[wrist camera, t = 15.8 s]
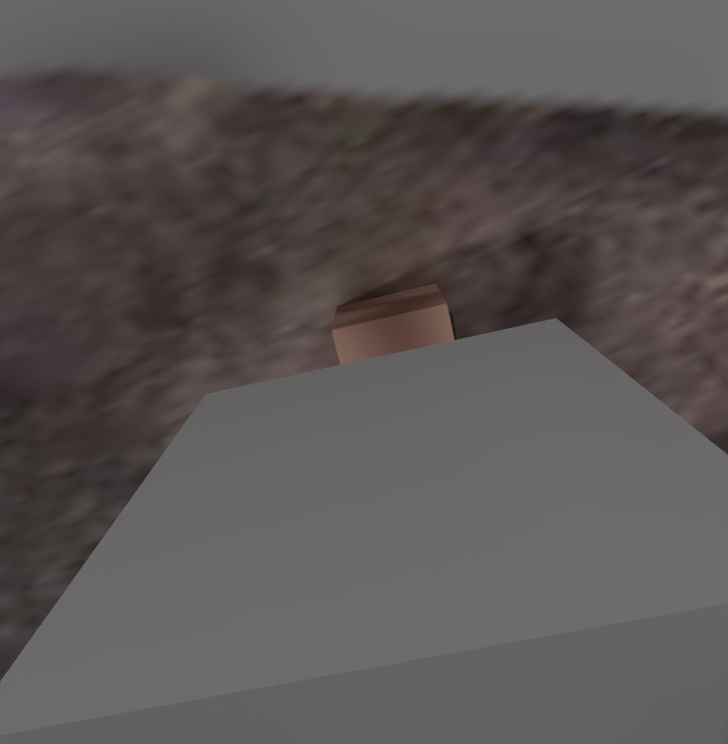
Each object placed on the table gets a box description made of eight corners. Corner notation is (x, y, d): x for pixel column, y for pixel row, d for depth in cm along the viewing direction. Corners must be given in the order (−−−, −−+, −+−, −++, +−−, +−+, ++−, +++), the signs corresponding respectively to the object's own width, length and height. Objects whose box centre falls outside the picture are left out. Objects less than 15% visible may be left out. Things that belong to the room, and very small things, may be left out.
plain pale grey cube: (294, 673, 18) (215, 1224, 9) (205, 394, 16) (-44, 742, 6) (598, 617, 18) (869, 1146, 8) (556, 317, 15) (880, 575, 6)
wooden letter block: (361, 397, 34) (359, 436, 29) (337, 306, 32) (331, 330, 27) (458, 376, 33) (472, 411, 28) (438, 282, 32) (450, 302, 27)
